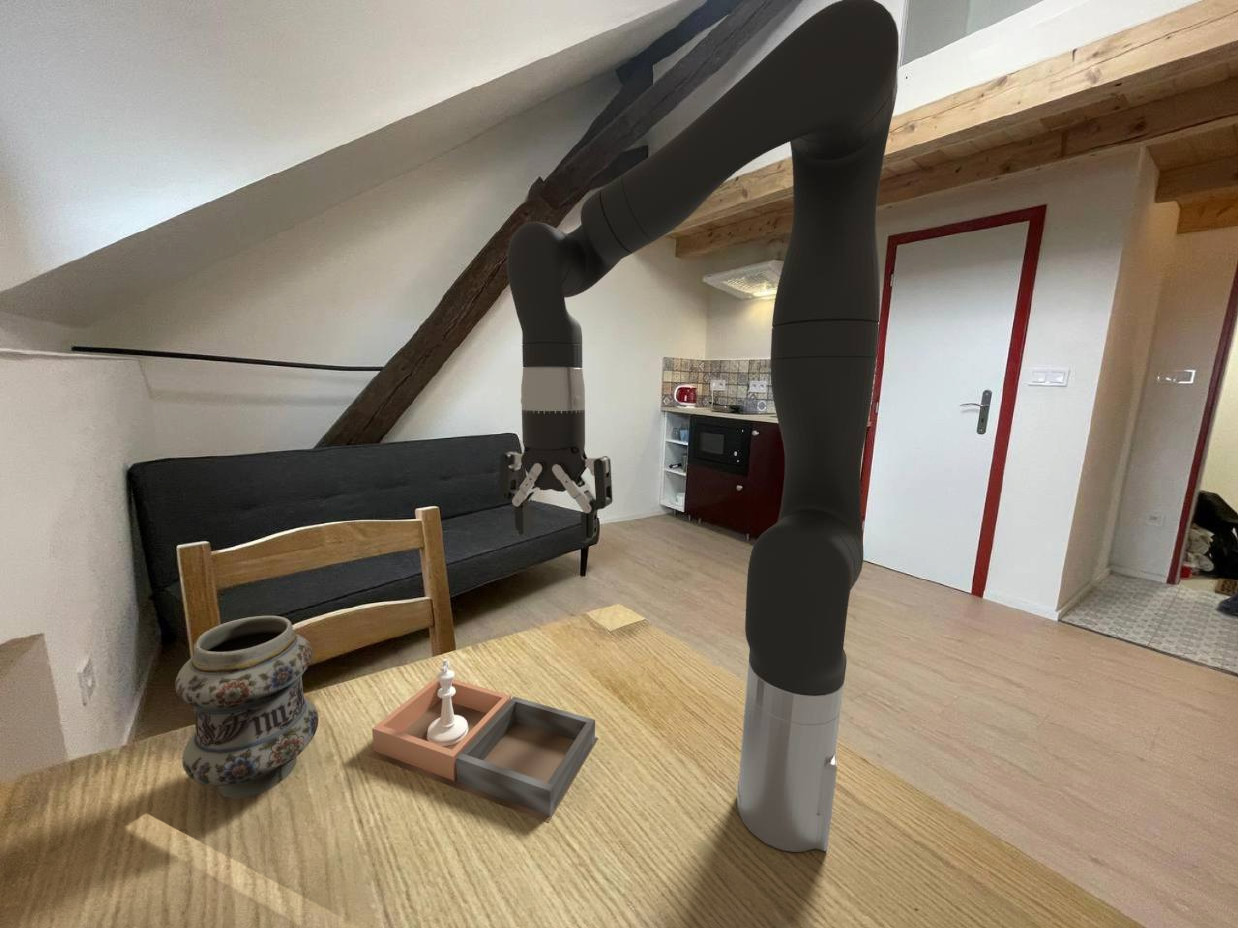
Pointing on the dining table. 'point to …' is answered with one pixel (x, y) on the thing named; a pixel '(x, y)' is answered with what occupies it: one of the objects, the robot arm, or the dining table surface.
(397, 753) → the orange square tray
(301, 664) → the apothecary jar
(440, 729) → the chess piece
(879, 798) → the dining table surface
